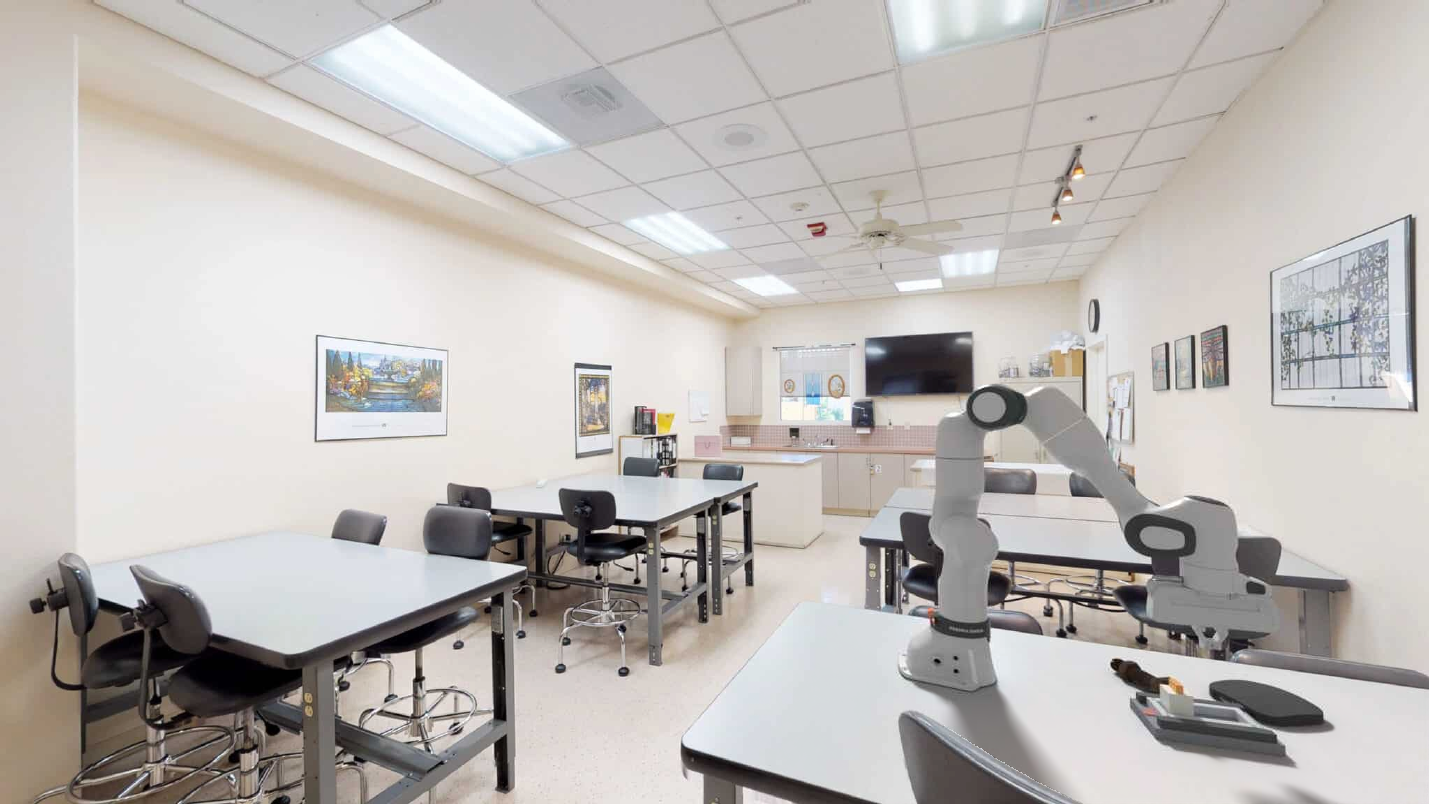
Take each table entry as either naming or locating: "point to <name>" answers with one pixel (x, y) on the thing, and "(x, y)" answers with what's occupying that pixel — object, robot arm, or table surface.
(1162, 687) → the toggle
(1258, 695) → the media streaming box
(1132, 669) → the dark brown lumpy rod
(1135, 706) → the panel
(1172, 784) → the table surface
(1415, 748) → the table surface
